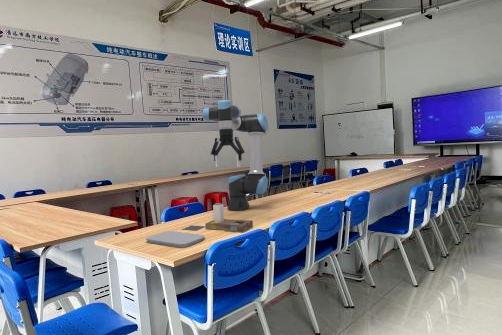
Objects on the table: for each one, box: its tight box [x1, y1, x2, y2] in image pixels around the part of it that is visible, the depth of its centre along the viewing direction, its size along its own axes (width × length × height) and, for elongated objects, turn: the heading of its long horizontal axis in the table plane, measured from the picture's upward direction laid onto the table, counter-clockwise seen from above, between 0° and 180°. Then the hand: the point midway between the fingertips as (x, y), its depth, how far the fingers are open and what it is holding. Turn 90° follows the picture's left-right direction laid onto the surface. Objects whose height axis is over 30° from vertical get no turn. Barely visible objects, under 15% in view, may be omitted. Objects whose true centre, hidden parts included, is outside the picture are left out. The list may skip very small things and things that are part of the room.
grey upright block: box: [212, 202, 225, 223], centre depth 188 cm, size 4×4×13 cm
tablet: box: [145, 230, 206, 249], centre depth 167 cm, size 16×26×2 cm, turn 58°
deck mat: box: [180, 225, 205, 232], centre depth 190 cm, size 10×10×1 cm
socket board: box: [204, 218, 254, 233], centre depth 186 cm, size 12×22×4 cm, turn 65°
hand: (228, 166), depth 197 cm, fingers open, 13 cm apart
